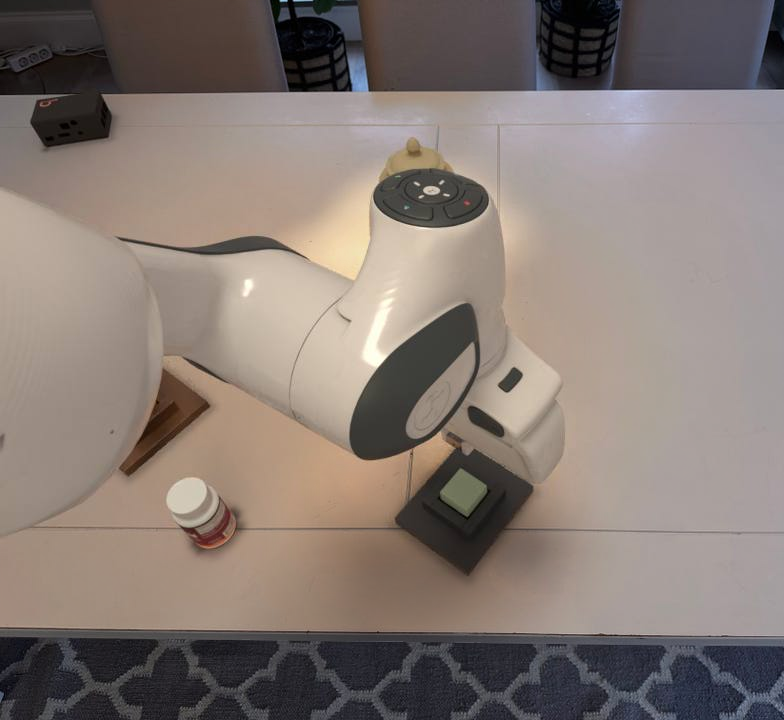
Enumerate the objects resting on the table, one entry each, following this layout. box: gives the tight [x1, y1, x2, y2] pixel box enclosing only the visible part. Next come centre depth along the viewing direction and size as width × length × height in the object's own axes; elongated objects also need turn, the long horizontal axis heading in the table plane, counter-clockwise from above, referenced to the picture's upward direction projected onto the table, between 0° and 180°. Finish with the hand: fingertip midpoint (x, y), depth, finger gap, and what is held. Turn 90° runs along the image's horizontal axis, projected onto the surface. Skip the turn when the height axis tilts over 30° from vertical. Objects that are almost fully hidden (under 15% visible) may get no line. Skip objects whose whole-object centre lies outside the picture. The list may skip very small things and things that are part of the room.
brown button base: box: [118, 367, 211, 477], centre depth 82 cm, size 12×10×3 cm
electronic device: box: [29, 90, 112, 147], centre depth 119 cm, size 7×11×5 cm
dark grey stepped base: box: [394, 447, 534, 577], centre depth 73 cm, size 12×10×3 cm
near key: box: [440, 468, 487, 517], centre depth 72 cm, size 4×4×2 cm
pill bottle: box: [165, 476, 237, 549], centre depth 70 cm, size 5×5×8 cm
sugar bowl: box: [378, 136, 455, 183], centre depth 96 cm, size 15×11×15 cm
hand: (460, 442), depth 64 cm, fingers closed
